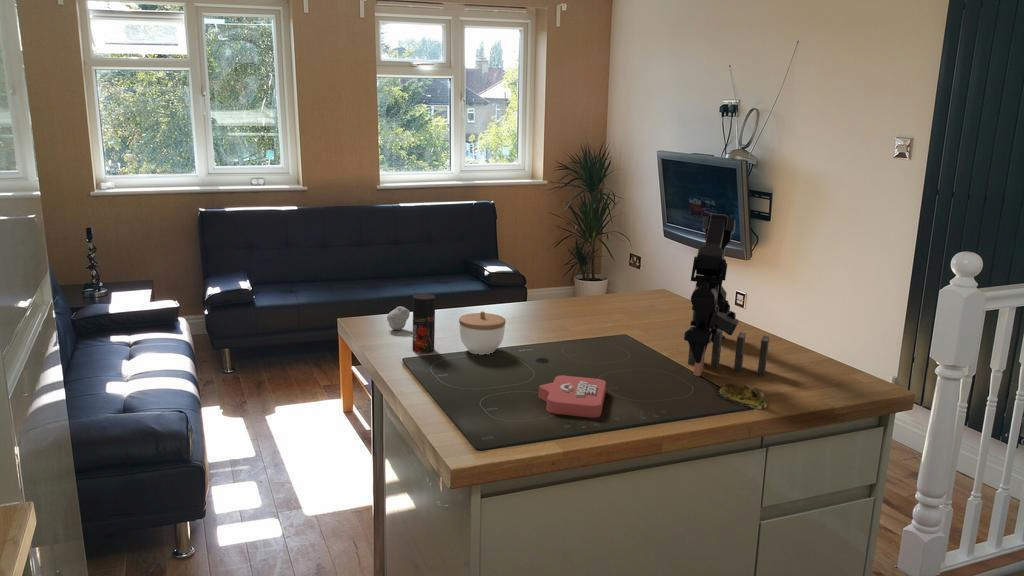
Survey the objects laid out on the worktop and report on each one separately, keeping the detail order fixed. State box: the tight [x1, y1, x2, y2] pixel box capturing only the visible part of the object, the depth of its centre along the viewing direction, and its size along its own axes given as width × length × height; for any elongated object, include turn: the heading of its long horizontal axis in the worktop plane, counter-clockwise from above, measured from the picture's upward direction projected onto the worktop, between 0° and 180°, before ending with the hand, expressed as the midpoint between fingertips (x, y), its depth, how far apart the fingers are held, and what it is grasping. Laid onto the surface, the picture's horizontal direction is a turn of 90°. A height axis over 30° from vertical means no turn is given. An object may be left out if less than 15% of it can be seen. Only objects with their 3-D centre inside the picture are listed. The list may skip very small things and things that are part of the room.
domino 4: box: [733, 331, 747, 373], centre depth 207 cm, size 2×5×10 cm, turn 158°
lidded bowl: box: [458, 310, 507, 356], centre depth 213 cm, size 13×13×11 cm
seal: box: [718, 382, 768, 410], centre depth 187 cm, size 9×5×15 cm
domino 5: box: [756, 335, 770, 377], centre depth 205 cm, size 2×5×10 cm, turn 157°
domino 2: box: [693, 345, 706, 377], centre depth 202 cm, size 2×5×10 cm, turn 158°
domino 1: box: [687, 326, 695, 366], centre depth 211 cm, size 2×5×10 cm, turn 157°
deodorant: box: [412, 293, 436, 354], centre depth 211 cm, size 6×6×15 cm
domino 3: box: [710, 329, 724, 370], centre depth 209 cm, size 2×5×10 cm, turn 158°
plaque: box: [538, 374, 607, 419], centre depth 181 cm, size 18×4×15 cm
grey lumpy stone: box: [386, 306, 411, 331], centre depth 230 cm, size 6×7×7 cm
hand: (699, 360), depth 203 cm, fingers closed on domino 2, 5 cm apart
